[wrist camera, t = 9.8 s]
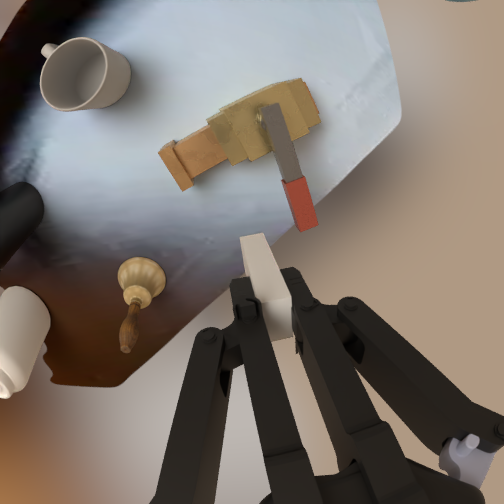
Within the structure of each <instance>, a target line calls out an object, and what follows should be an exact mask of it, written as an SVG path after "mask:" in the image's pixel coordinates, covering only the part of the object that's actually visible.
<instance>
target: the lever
mask: <svg viewBox="0 0 504 504" xmlns="http://www.w3.org/2000/svg"><path fill="white" fill-rule="evenodd" d="M258 110H259V113H260V116H259V118H258V124H259V126H260V127H261V128H262V129H263V130H266V132H267V135H268V138H269V140H270V143H271V146H272V149H273V152H274V155H275V158H276V161H277V164H278V166H279V169H280V172H281V175H282V178H283V179H282V180H281V182H282V185H283V188H284V191H285V194H286V197H287V200H288V203H289V206H290V209H291V212H292V215H293V219H294V222H295V225H296V227H297V228H298V230H299V231H300V232H302V231H305V230H307V229H310V228H312V227H315V226H317V225H318V221H317V218H316V214H315V210H314V207H313V203H312V199H311V196H310V192H309V189H308V185H307V182H306V179H305V176H303V175H302V172H301V169H300V166H299V162H298V159H297V156H296V153H295V150H294V147H293V143H292V140H291V137H290V134H289V131H288V128H287V125H286V122H285V119H284V116H283V114H282V111H281V108H280V105H279V103H272V104H269V105H266V106H263V107H260V108H258Z"/></svg>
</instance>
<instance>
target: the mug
mask: <svg viewBox="0 0 504 504" xmlns="http://www.w3.org/2000/svg"><path fill="white" fill-rule="evenodd" d="M41 53H42V55H43V56H45V57H46V58H47V60H46V62H45V64H44V66H43V69H42V72H41V77H40V88H41V93H42V95H43V98H44V99H45V101H46V102H47V103H48V104H49V105H50V106H51V107H52V108H54V109H56V110H59V111H66V112H67V111H78V110H86V109H98V108H104V107H107V106H110V105H112V104H114V103H115V102H117V101H118V100H119V99H120V98H121V97H122V96H123V95H124V93H125V92H126V90H127V88H128V86H129V83H130V79H131V69H130V65H129V63H128V61H127V59H126V58H125V57H124V56H123V55H122V54H120V53H119V52H117V51H114V50H113V49H111V48H109V47H107V46H105V45H104V44H102V43H100V42H98V41H96V40H94V39H92V38H87V37H79V38H74V39H71V40H68V41H66V42H64V43H63V44H61V45H60V46H57V45H54V44H46V45H45V46H44V47H43V48H42V51H41Z"/></svg>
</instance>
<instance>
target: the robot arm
mask: <svg viewBox="0 0 504 504" xmlns="http://www.w3.org/2000/svg"><path fill="white" fill-rule="evenodd" d="M447 1H452V2H468V1H476V0H447ZM240 242H241V248H242V254H243V261H244V267H245V273H246V277H243V278H237V279H232V281H231V283H230V292H231V297H232V303H233V312H234V316H235V318H234V321H233V323H232V324H231V325H229V326H228V327H226V328H224V329H222V330H220V329H218V328H215V327H209V328H205V329H203V330H201V331H200V332H198V334H197V335H196V337H195V341H194V344H193V348H192V351H191V355H190V358H189V362H188V366H187V370H186V373H185V377H184V381H183V384H182V388H181V392H180V396H179V400H178V403H177V407H176V411H175V415H174V419H173V423H172V427H171V431H170V435H169V439H168V443H167V447H166V451H165V455H164V460H163V464H162V468H161V473H160V477H159V481H158V485H157V490H156V494H155V496H154V497H153V499H152V500H151V502H150V503H149V504H214V502H215V495H216V488H217V480H218V474H219V473H218V472H219V467H220V459H221V452H222V445H223V438H224V430H225V424H226V417H227V410H228V402H229V396H230V389H231V382H232V375H233V369H234V368H236V367H238V366H240V365H243V364H244V368H245V373H246V378H247V382H248V387H249V392H250V397H251V402H252V407H253V411H254V416H255V421H256V425H257V430H258V434H259V438H260V443H261V447H262V452H263V457H264V463H265V467H266V471H267V476H268V480H269V484H270V489H271V493H270V494H269V495H267V496H266V497H265V498H264V499H263V500H262V501H261V502H260V503H259V504H485V499H484V496H483V494H482V493H481V491H480V490H479V489H480V487H481V485H482V483H483V480H484V479H485V476H486V474H487V472H488V470H489V467H490V465H491V462H492V460H493V458H494V455H495V453H496V452H497V450H499V449H500V448H501V447H503V446H504V416H502V415H500V414H498V413H496V412H493V411H491V410H489V409H487V408H484V407H482V406H480V405H478V404H476V403H474V402H471V400H470V399H469V398H468V397H466V395H464V394H463V393H462V392H461V391H460V390H459V389H458V388H457V387H456V386H455V385H454V384H453V383H452V382H451V381H450V380H449V379H448V378H446V376H445V375H443V374H442V373H441V372H440V371H439V370H438V369H437V368H436V367H435V366H434V365H433V364H432V363H430V361H428V360H427V359H426V358H425V357H424V356H423V355H422V354H421V353H420V352H419V351H418V350H416V349H415V348H414V347H413V346H412V345H411V344H410V343H409V342H408V341H407V340H405V339H404V338H403V337H402V336H401V335H400V334H398V332H397V331H395V330H394V329H393V328H392V327H391V326H390V325H389V324H388V323H386V322H385V321H384V320H383V319H382V318H381V317H380V316H378V315H377V314H376V313H375V312H374V311H373V310H372V309H371V308H369V307H368V306H367V305H366V304H365V303H364V302H363V301H361V300H360V299H358V298H356V297H345V298H342V299H341V300H339V302H338V304H337V305H324V304H321V303H320V302H319V301H318V300H317V299H315V298H313V296H312V294H311V292H310V290H309V288H308V286H307V285H306V283H305V281H304V279H303V278H302V275H301V273H300V272H299V271H298V270H297V269H296V268H294V267H290V268H285V269H280V270H279V268H278V265H277V263H276V261H275V259H274V257H273V254H272V252H271V250H270V247H269V245H268V243H267V241H266V239H265V236H264V234H263V233H259V234H254V235H249V236H243V237H240ZM293 332H294V335H295V340H296V342H295V343H296V354H297V353H298V352H299V354H300V357H301V360H302V363H303V365H304V368H305V371H306V373H307V376H308V379H309V381H310V384H311V387H312V390H313V392H314V395H315V397H316V400H317V403H318V406H319V409H320V411H321V414H322V417H323V419H324V422H325V425H326V428H327V431H328V433H329V436H330V439H331V442H332V444H333V447H334V450H335V453H336V456H337V464H338V468H339V473H337V474H334V475H325V476H314V473H313V470H312V467H311V464H310V460H309V458H308V454H307V452H306V450H305V448H304V447H303V445H302V442H301V439H300V435H299V432H298V429H297V426H296V422H295V419H294V416H293V413H292V409H291V406H290V403H289V400H288V397H287V393H286V390H285V387H284V383H283V380H282V377H281V373H280V370H279V367H278V363H277V360H276V357H275V354H274V350H273V347H272V344H271V342H272V341H277V340H281V339H286V338H290V337H293ZM354 367H355V368H356V369H355V368H354ZM356 370H357V371H358V372H359V373H360V374H361V375H362V376H363V377H364V378H365V380H366V381H367V382H368V383H369V384H370V385H371V386H372V387H373V389H374V390H375V391H376V392H377V393H378V394H379V395H380V396H381V397H382V399H383V400H384V401H385V402H386V403H387V404H388V405H389V406H390V407H391V409H392V410H393V411H394V412H395V413H396V414H397V415H398V416H399V418H400V419H401V420H402V421H403V422H404V423H405V424H406V425H407V426H408V427H409V429H410V430H411V431H412V432H413V433H414V434H415V435H416V436H417V437H418V439H419V440H420V441H421V442H422V443H423V444H424V445H425V446H426V447H427V448H429V449H430V450H431V451H432V452H434V453H435V454H437V455H439V467H440V469H442V470H445V471H446V472H447V473H448V475H449V476H447V475H445V474H442V473H440V472H438V471H435V470H433V469H431V468H428V467H426V466H424V465H422V464H419V463H417V462H415V461H413V460H411V459H408V458H406V457H405V456H404V454H403V451H402V449H401V447H400V445H399V443H398V441H397V439H396V437H395V435H394V432H393V430H392V429H391V427H390V425H389V424H388V423H387V422H386V421H382V420H381V419H380V418H379V416H378V414H377V412H376V410H375V408H374V406H373V404H372V402H371V400H370V398H369V396H368V393H367V392H366V389H365V387H364V386H363V384H362V382H361V379H360V378H359V375H358V373H357V371H356Z"/></svg>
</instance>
